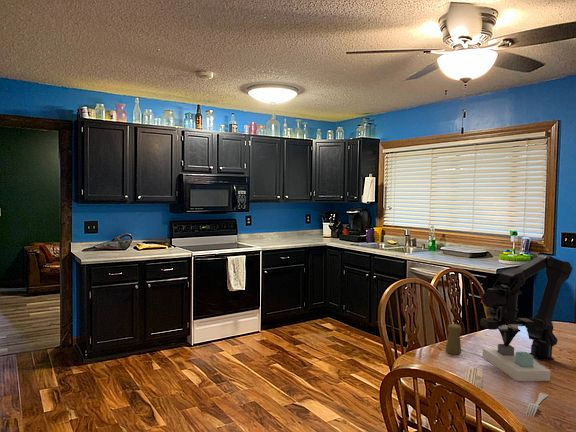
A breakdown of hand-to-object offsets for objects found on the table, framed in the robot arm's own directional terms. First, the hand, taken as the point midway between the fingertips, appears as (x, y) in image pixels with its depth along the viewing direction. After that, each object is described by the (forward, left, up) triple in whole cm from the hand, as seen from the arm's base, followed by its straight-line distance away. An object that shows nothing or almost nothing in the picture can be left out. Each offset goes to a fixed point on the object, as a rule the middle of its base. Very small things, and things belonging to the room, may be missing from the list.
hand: (506, 345), depth 167 cm
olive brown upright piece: (+15, -11, -6) cm, 20 cm away
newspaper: (+22, +17, -7) cm, 29 cm away
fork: (+10, +33, -7) cm, 35 cm away
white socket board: (0, +6, -6) cm, 8 cm away
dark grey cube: (0, 0, -4) cm, 4 cm away
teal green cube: (0, +11, -3) cm, 11 cm away
